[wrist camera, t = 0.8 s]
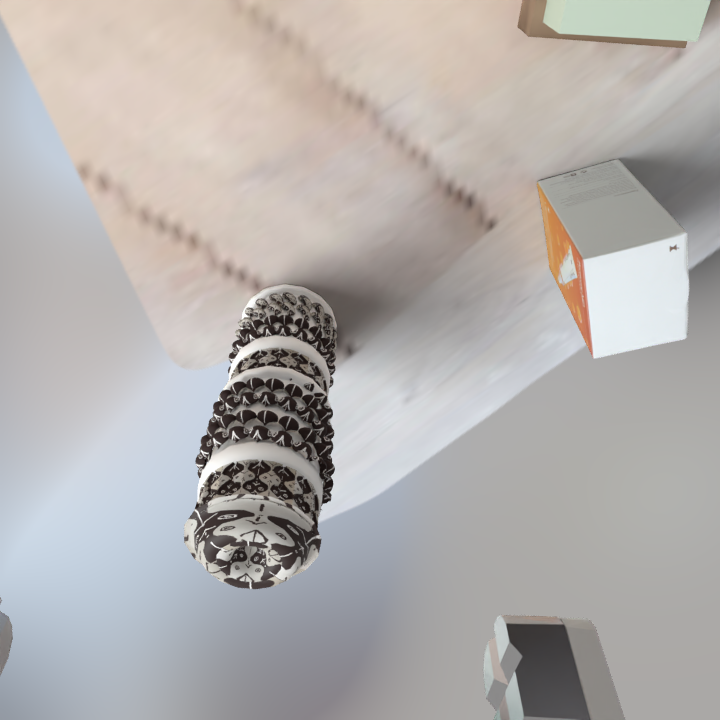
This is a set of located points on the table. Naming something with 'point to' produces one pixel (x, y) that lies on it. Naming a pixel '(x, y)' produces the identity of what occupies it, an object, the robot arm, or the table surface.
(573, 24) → the tower top
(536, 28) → the tower base
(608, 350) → the small box
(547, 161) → the table surface
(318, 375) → the decorative candle
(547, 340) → the table surface
